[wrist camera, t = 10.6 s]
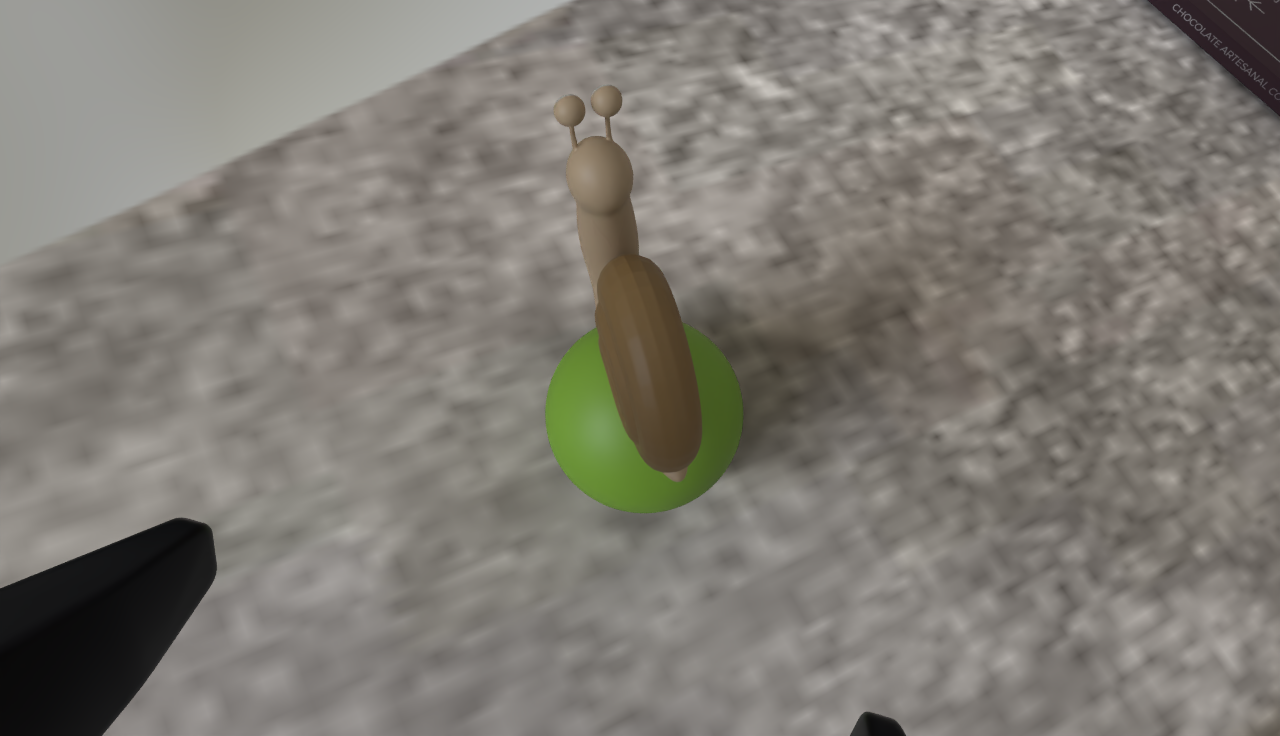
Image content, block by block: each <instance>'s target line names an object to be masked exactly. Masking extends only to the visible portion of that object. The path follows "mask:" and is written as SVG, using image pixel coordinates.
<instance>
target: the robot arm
mask: <svg viewBox="0 0 1280 736" xmlns="http://www.w3.org/2000/svg"><path fill="white" fill-rule="evenodd" d="M216 571H217V562H216V555H215V548H214V540H213V533H212V530H211V528H210V527H209V526H208V525H207V524H205V523H201V522H198V521H194V520H191V519H187V518H176V519H172V520H170V521H167V522H165V523H162V524H160V525H157V526H155V527H152V528H150V529H147V530H145V531H142V532H140V533H137V534H135V535H132V536H130V537H127V538H125V539H122V540H120V541H117V542H115V543H112V544H110V545H107V546H105V547H102V548H100V549H97V550H95V551H92V552H90V553H87V554H85V555H82V556H80V557H77V558H75V559H72V560H70V561H67V562H65V563H62V564H60V565H58V566H55V567H53V568H50V569H48V570H45V571H43V572H40V573H38V574H35V575H33V576H30V577H28V578H25V579H23V580H20V581H18V582H15V583H13V584H10V585H8V586H5V587H3V588H0V736H102V735H103V734H104V733H105V731H106V730H107V729H108V728H109V727H110V725H111V724H112V723H113V722H114V720H115V719H116V718H117V717H118V716H119V714H120V713H121V712H122V711H123V710H124V708H125V707H126V706H127V705H128V703H129V702H130V701H131V700H132V698H133V697H134V696H135V695H136V693H137V692H138V691H139V690H140V688H141V687H142V686H143V684H144V683H145V682H146V680H147V679H148V678H149V676H150V675H151V673H152V672H153V671H154V669H155V668H156V666H157V665H158V663H159V662H160V660H161V659H162V657H163V656H164V654H165V653H166V651H167V650H168V649H169V647H170V646H171V644H172V643H173V641H174V640H175V638H176V637H177V635H178V634H179V632H180V631H181V629H182V628H183V626H184V625H185V623H186V622H187V620H188V619H189V617H190V616H191V615H192V613H193V612H194V610H195V609H196V607H197V606H198V604H199V603H200V601H201V600H202V598H203V597H204V595H205V594H206V592H207V591H208V589H209V588H210V586H211V585H212V583H213V581H214V579H215V575H216ZM850 736H906V735H905V733H904V731H903V729H902V728H901V726H900V725H899V724H898V722H897V721H895V720H894V719H892V718H889V717H886V716H882V715H879V714H875V713H871V712H865V713H863V714H862V715H861V716H860V718H859V719H858V721H857V723H856V725H855V727H854V729H853V731H852V733H851V735H850Z"/></svg>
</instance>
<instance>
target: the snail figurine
mask: <svg viewBox="0 0 1280 736" xmlns="http://www.w3.org/2000/svg"><path fill="white" fill-rule="evenodd" d="M591 105H592V108H593V109H594V111H595V112H596V113H597V114H598V115H600V116H603V117H605V124H606V138H605V137H601V136H592V137H588V138H585V139H584V140H582V141H580V142H579V143H578V144H577V140H576V137H575V131H574V126H576V125H578V124H580V123H581V122H582V120H583V119H584V116H585V105H584V103H583V101H582V100H581V99H580V98H579V97H577V96H575V95H565V96H563V97H561V98H559V99H558V100H557V101H556V103H555V105H554V115H555V118H556V119H557V121H558V122H559V123H560V124H562V125H564V126H566V127H569V128H570V135H571V140H572V147H573V150H572V152H571V153H570V156H569V158H568V161H567V167H566V178H567V183H568V187H569V189H570V192H571V194H572V196H573V197H574V199H575V201H576V206H577V225H578V233H579V240H580V244H581V249H582V253H583V256H584V260H585V263H586V266H587V269H588V273H589V276H590V280H591V283H592V287H593V292H594V298H595V304H596V310H595V322H596V328H594V329H593V330H591V331H590V332H588V333H587V334H585V335H584V336H583V337H581V338H580V339H579V340H578V341H577V342H576V343H575V344H574V345H573V346H572V347H571V348H570V349H569V350H568V352H567V353H566V354H565V356H564V357H563V358H562V360H561V361H560V363H559V365H558V367H557V368H556V370H555V373H554V375H553V377H552V380H551V383H550V386H549V390H548V394H547V399H546V410H545V418H546V428H547V434H548V438H549V442H550V445H551V448H552V451H553V453H554V455H555V458H556V460H557V461H558V463H559V465H560V467H561V468H562V470H563V471H564V473H565V474H566V475H567V476H568V478H569V479H570V480H571V481H572V482H573V483H574V484H575V485H576V486H577V487H578V488H579V489H580V490H581V491H583V492H584V493H585V494H587V495H588V496H589V497H591V498H593V499H594V500H596V501H598V502H600V503H602V504H604V505H606V506H609V507H611V508H614V509H618V510H622V511H626V512H633V513H656V512H662V511H667V510H671V509H674V508H677V507H680V506H682V505H685V504H687V503H689V502H691V501H693V500H694V499H696V498H698V497H699V496H701V495H702V494H703V493H705V492H706V491H707V490H709V489H710V488H711V487H712V486H713V485H714V484H715V483H716V482H717V481H718V480H719V479H720V477H721V476H722V475H723V473H724V472H725V471H726V469H727V468H728V466H729V464H730V463H731V461H732V459H733V457H734V455H735V453H736V450H737V447H738V444H739V441H740V437H741V433H742V426H743V402H742V396H741V391H740V387H739V384H738V381H737V378H736V376H735V373H734V371H733V369H732V367H731V365H730V364H729V362H728V360H727V359H726V357H725V356H724V355H723V353H722V352H721V351H720V350H719V348H718V347H717V346H716V345H715V344H714V343H713V342H712V341H711V340H709V339H708V338H707V337H706V336H705V335H703V334H702V333H701V332H699V331H698V330H696V329H694V328H693V327H691V326H689V325H687V324H685V323H682V320H681V317H680V314H679V311H678V308H677V305H676V302H675V299H674V297H673V294H672V292H671V289H670V287H669V285H668V282H667V280H666V278H665V276H664V274H663V273H662V271H661V270H660V268H659V267H658V266H657V265H656V264H654V263H653V262H652V261H651V260H650V259H648V258H645V257H642V256H639V243H638V233H637V226H636V220H635V215H634V211H633V207H632V203H631V199H630V193H631V190H632V186H633V170H632V166H631V163H630V160H629V158H628V156H627V154H626V153H625V152H624V150H623V149H622V148H621V147H620V146H619V145H618V144H617V143H615V142H614V141H613V139H612V136H611V128H610V117H611V116H614V115H615V114H617V113H618V111H619V110H620V108H621V106H622V96H621V93H620V91H619V90H618V89H617V88H616V87H614V86H612V85H603V86H600V87H598V88H597V89H596V90H595V91H594V92H593V94H592V97H591Z"/></svg>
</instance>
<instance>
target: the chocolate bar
mask: <svg viewBox="0 0 1280 736" xmlns="http://www.w3.org/2000/svg"><path fill="white" fill-rule="evenodd" d="M1148 1H1149V2H1150V3H1151V4H1153V5H1154V6H1155V7H1156V8H1157V9H1158V10H1159V11H1161V12H1162V13H1163V14H1164V15H1165V16H1166V17H1167V18H1169V19H1170V20H1171V21H1172V22H1173V23H1174V24H1175V25H1177V26H1178V27H1179V28H1180V29H1181V30H1182V31H1183V32H1185V33H1186V34H1187V35H1188V36H1189V37H1190V38H1191V39H1193V40H1194V41H1195V42H1196V43H1197V44H1198V45H1199V46H1201V47H1202V48H1203V49H1204V50H1205V51H1206V52H1207V53H1209V54H1210V55H1211V56H1212V57H1213V58H1214V59H1215V60H1217V61H1218V62H1219V63H1220V64H1221V65H1222V66H1223V67H1225V68H1226V69H1227V70H1228V71H1229V72H1230V73H1231V74H1233V75H1234V76H1235V77H1236V78H1237V79H1238V80H1239V81H1241V82H1242V83H1243V84H1244V85H1245V86H1246V87H1247V88H1249V89H1250V90H1251V91H1252V92H1253V93H1254V94H1255V95H1257V96H1258V97H1259V98H1260V99H1261V100H1262V101H1263V102H1265V103H1266V104H1267V105H1268V106H1269V107H1270V108H1271V109H1273V110H1274V111H1275V112H1276V113H1277V114H1278V115H1279V116H1280V0H1148Z"/></svg>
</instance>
